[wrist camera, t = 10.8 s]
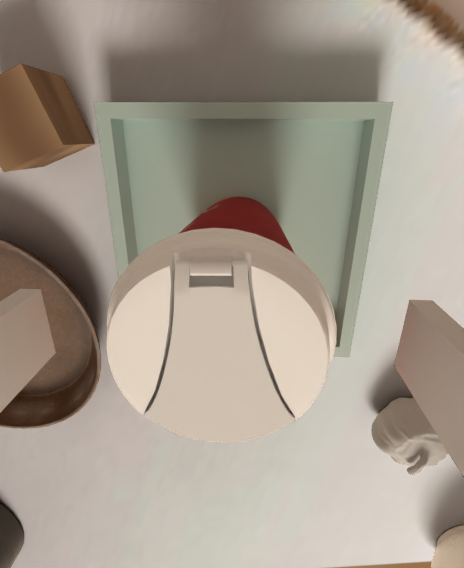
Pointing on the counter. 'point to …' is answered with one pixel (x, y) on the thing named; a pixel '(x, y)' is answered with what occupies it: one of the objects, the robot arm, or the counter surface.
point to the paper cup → (221, 328)
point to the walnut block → (38, 119)
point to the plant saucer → (67, 342)
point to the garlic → (407, 435)
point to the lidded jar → (450, 549)
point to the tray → (251, 178)
